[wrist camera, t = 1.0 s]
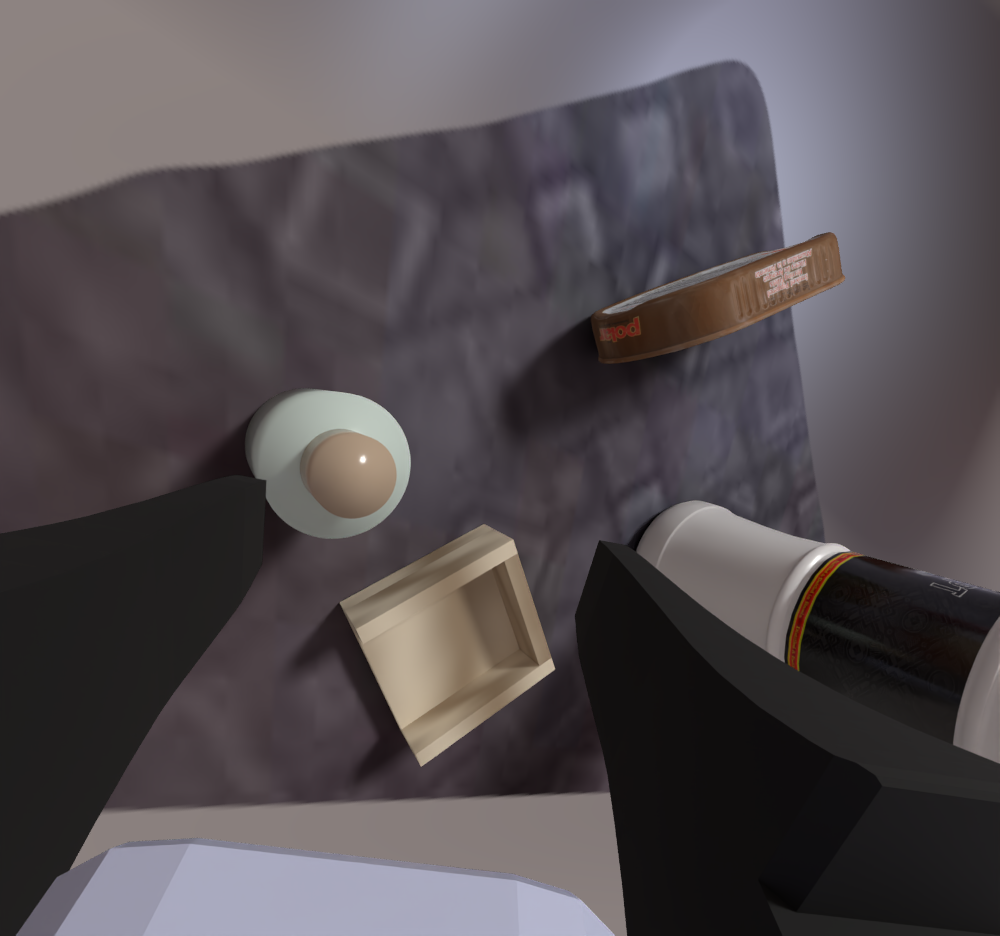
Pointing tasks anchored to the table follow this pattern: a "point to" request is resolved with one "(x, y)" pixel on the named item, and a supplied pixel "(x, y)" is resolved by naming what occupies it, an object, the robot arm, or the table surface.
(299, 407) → the bottle
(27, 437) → the table surface
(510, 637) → the wooden box
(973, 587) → the vodka
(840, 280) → the tin
